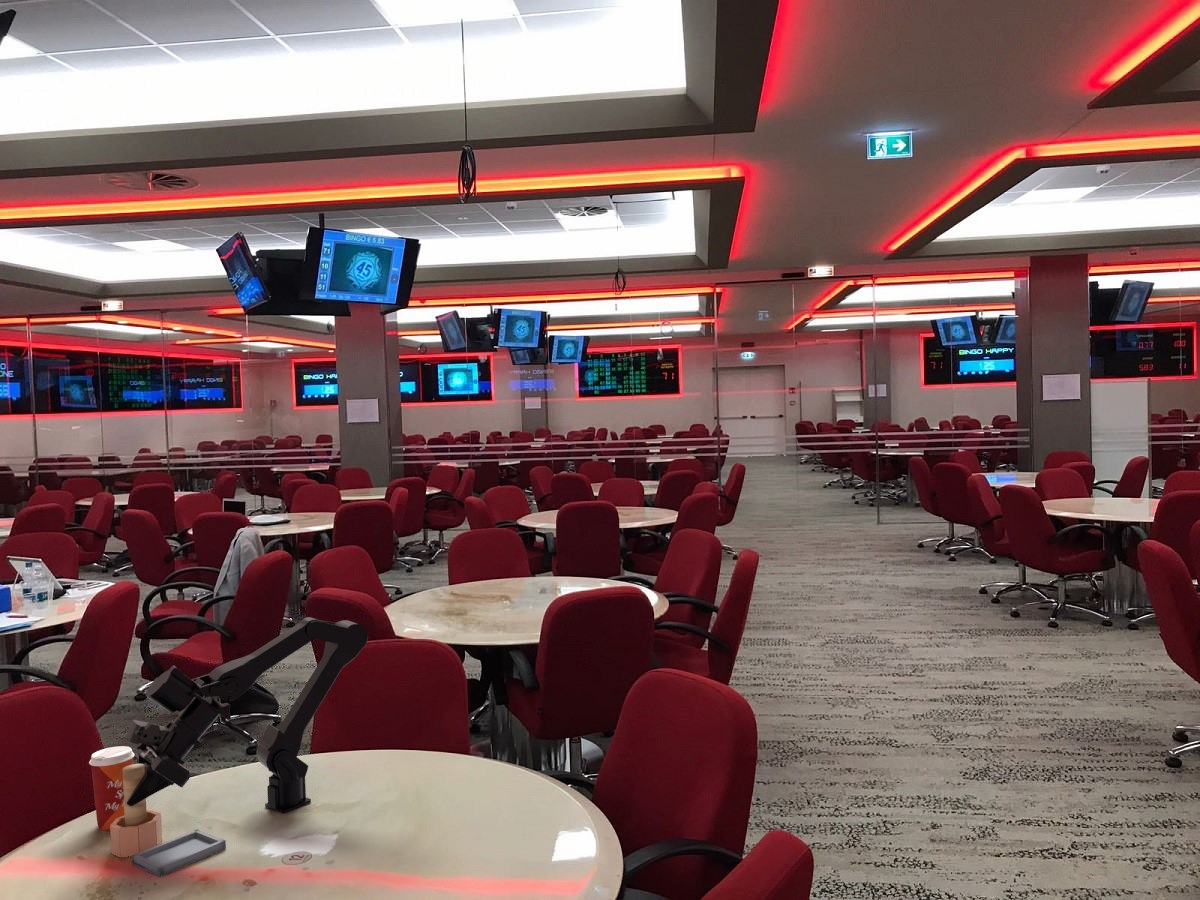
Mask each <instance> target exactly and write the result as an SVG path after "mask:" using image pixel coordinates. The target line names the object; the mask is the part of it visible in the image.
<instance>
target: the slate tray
mask: <svg viewBox="0 0 1200 900" xmlns="http://www.w3.org/2000/svg"><path fill="white" fill-rule="evenodd" d="M226 845H227V843H226V839H224V838H221V837H219V836H215V835H213V834H211V833H208V832H205V831H203V830H201V829H194V830H192V831H190V832H187V833H184V834H182V835H179V836H177V837H175V838H173V839H170V840H167V841H165V842H161V843H160V844H159V845H157V846H154V847H152V848H149V849H147V850H144V851H142V852H139V853H137V854H135V855H132V856H131V865H133V864H134V865H133V866H135V867H137V866H138V867H137V868H139V867H140V869H141V868H142V869H141V870H143V869H144V870H143V871H145V870H146V872H148V873H151V874H152V875H155V876H156V875H157V877H158V876H159V878H162V877H163V876H167V875H168V873H169V874H171V873H173V872H176V871H177V869H178V870H180V869H182V868H184V866H185V867H187V866H190V865H191V864H190V863H192V864H193V862H194V861H196V862H198V861H197V860H199V861H200V859H201V860H203V859H205V858H208V857H210V856H212V855H215V854H216V852H217V853H220V852H222V851H224V850H227V847H226ZM223 849H224V850H223ZM221 850H222V851H221ZM214 853H215V854H214ZM211 854H212V855H211ZM209 855H210V856H209ZM207 856H208V857H207ZM202 858H203V859H202ZM194 863H195V862H194ZM186 865H187V866H186ZM179 868H180V869H179ZM175 870H176V871H175ZM170 872H171V873H170ZM161 876H162V877H161Z"/></svg>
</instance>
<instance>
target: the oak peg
mask: <svg viewBox="0 0 1200 900" xmlns="http://www.w3.org/2000/svg"><path fill="white" fill-rule="evenodd" d="M144 774H145V768H144V764H137V763H133V765H129V766H126V767H124V768H123V787H124V812H125V827H130V826H138V825H141V824H144V823H146V822H147V811H148V810H147V798H145V799H144V800H142V801H140V802H138V803H137V804H135V805H133V806H129V805H128V804H127V801H128V799H129V798H130V796H131V794H132V793H133V791H134V790H135V788H136V787H137V785H138V784H139V782H140V781H141V779H142V778H143V776H144Z"/></svg>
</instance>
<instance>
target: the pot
mask: <svg viewBox="0 0 1200 900" xmlns="http://www.w3.org/2000/svg"><path fill="white" fill-rule="evenodd" d="M146 811H147V822H146V823H144V824H141V825H138V826H130V827H125V815H124V816H121V817H119V818H116V819H115V821H114V822H113V823H112V824H111V825H110V830H109V831H110V851H111V852H110V853H112V855H113V854H114V856H115V855H116V857H118V858H121V857H122V858H129V857H130V856H131V857H132V855H135V854H137V853H139V852H142V851H144V850H147V849H149V848H152V847H154V846H157V845H159V844H162V842H163V825H162V813H161V812H158V811H155V810H154V809H150V810H146ZM161 841H162V842H161ZM128 856H129V857H128Z"/></svg>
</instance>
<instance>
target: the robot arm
mask: <svg viewBox="0 0 1200 900" xmlns="http://www.w3.org/2000/svg"><path fill="white" fill-rule="evenodd" d="M314 640H319V641H323V642H325V643H324V649H323V654H322V658H321V660H319V663H318V664H317V666H316V667H315V668H314V671H312V674H311V676H310V678H309V679H308V680H307V682H306V683H305V685H304V687H303V688H302V690H301V692H300V693H299V695H298V697H296V700H295V701H294V703H293V705H292V706H291V708H290V709H289V710H288V713H287V715H286V716H285V717H284V719H283V720H282V721H281V722H279V723H278V724H277V725H276V726H274V725H273V724H270V723H269V724H268V725H267V726H266V729H265V730H264V734H263V735H262V736H261V738H259V739H258V740H257V742H256V743H258V745H257V748H256V753H255V754H256V756H257V760H258V761H259V762H260V764H261V765H263V767H265V768H266V769H267V770H268V771H269V772H271V773H272V775H270V776H268V785H267V790H266V791H267V802H266V803H265V804H264V807H265V808H268V809H271V810H273V811H276V812H281V813H283V814H285V813H287V812H290V811H292V810H294V809H297V808H299V807H302V806H304V805H306V804H309V803H311V802H312V799H311V798H309V797H307V791H306V788H307V787H306V776H307V773H308V770H309V765H308V764H307V763H306V762H304V761H303V760H301V758H299V757H298V755H299V753H300V750H301V748H302V743H303V740H304V739H303V738H304V734H305V730H306V729H307V727H308V726H309V724H310V722H311V720H312V719H313V717H314V716H315V714H316V713H317V711H318V709H319V707H320V706H321V705H322V702H323V701H324V700H325V697H326V696H327V694H328V692H329V691H330V689H331V688H332V686H333V685H334V683H335V681H336V679H337V677H338V676H339V674H340V673H341V671H342V670H343V668H345V667H346V665H348V664H349V663H351V662H352V661H353V660H354V659H355V658H357V656H358V655H359V654H360V652H361V651H362V650H364V648H365V647H366V645H367V643H368V640H369V634H368V631H367V629H366V628H365V627H364V626H363V625H362V624H360V623H357V622H353V621H351V620H348V619H345V620H344V619H343V620H340V621H337V622H333V621H327V620H320V619H317V618H313V617H309V616H308V617H307V616H306V617H305V618H302V620H301V621H299V622H298V623H297V624H295V625H294V626H292V627H291V628H289V629H287V630H286V631H284V632H282V633H280V635H278V636H277V637H275V638H274V639H272V640H269V642H267V643H265V644H264V645H262V646H261V647H260V648H258V649H256V650H255V651H253V652H252V653H250V654H247V655H245V656H243V657H242V656H241V657H240V658H237V659H233V660H231V661H228V662H226V663H223V664H221V665H218V666H217V667H214V669H213V670H211V672H209V673H208V674H207V673H206V674H204V675H202V676H199V677H196V678H192V679H191V678H190V677H189V676H188V675H186V674H185V673H183V672H182V670H181V669H180V668H178V667H176V665H172V666H171V667H170V668H169V669H167V670H166V671H164V672H162V674H160V675H159V676H157V677H156V678H155V679H154V680H153V681H152V682H151V684H150V685H149V686H148V688H147V690H146V692H145V697H147V698H148V699H149V700H150V701H152V702H154V703H155V704H157V705H158V706H159V707H161V708H163V709H164V710H165V711H167V712H168V713H170V714H174V713H175V712H178V713H180V714H179V715H178V716H177V717H176V718H175V719H174V721H173V720H171V719H170V720H167V721H166V723H165V724H164V725H160V724H158V723H152V722H151V721H149V722H147V721H142V720H137V719H133V720H132V721H131V724H130V726H129V728H128V731H127V733H126V735H125V738H126V739H128V742H130V743H132V744H133V746H134V747H135V748H136V749H137V750H138V751H139V750H141V751H142V752H141V753H139V752H138V751H137V752H135V756H136V764H144V768H145V774H144V776H143V778H142V779H141V781H140V782H139V784H138V785H137V787H136V788H135V790H134V791H133V793H132V794H131V796H130V798H129V799H128V801H127V804H128V805H129V806H133V805H135V804H137V803H138V802H140V801H142V800H144V799H145V798H146V799H147V798H149V797H151V796H153V795H155V794H157V793H158V792H159V791H160V792H161V791H162V790H164V789H166V788H167V787H170V786H174V785H176V786H178V787H179V788H184V786H185V785H186V784H187V783H188V781H189V780H190V770H189V769H188V768H187V767H186V766H185V765H184V764H185V763H186V761H185V760H184V759H185V757H186V756H187V755H188V753H190V751H191V750H192V749H193V747H196V748H198V747H199V746H200V745H201V744H202V742H201V741H200V739H201V737H203V735H204V734H205V733H206V731H207V730H208V729H209V728H210V727H211V726H212V724H213V723H214V722H215V721H216V720H217V719H218V717H219V716H221V717H223V718H224V719H225V720H227V721H230V720H231V719H232V716H231V710H230V709H231V704H229V703H228V702H232V701H235V700H237V699H239V698H240V697H242V696H243V695H244V694H245V693H246V692H247V691H248V690H249V689H251V687H252V686H253V685H254V684H255V683H256V681H257V680H258V679H259V678H260V676H262V675H263V674H264V673H265V672H267V671H269V669H271V668H272V667H274V666H275V665H277V664H279V663H280V662H282V661H283V660H284V659H287V658H288V657H289V656H290V655H292V654H294V653H295V652H296V651H298V650H301V648H303V647H305V645H307V644H309V643H310V642H312V641H314ZM198 691H199V692H200V693H202V694H203V695H205V698H203V697H201V696H200V695H199V694H197V692H198ZM214 697H217V698H218V699H220V700H222V701H226V702H224V703H221V702H219V701H218V700H216V699H215V698H214ZM122 797H123V798H124V794H123V796H122Z"/></svg>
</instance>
